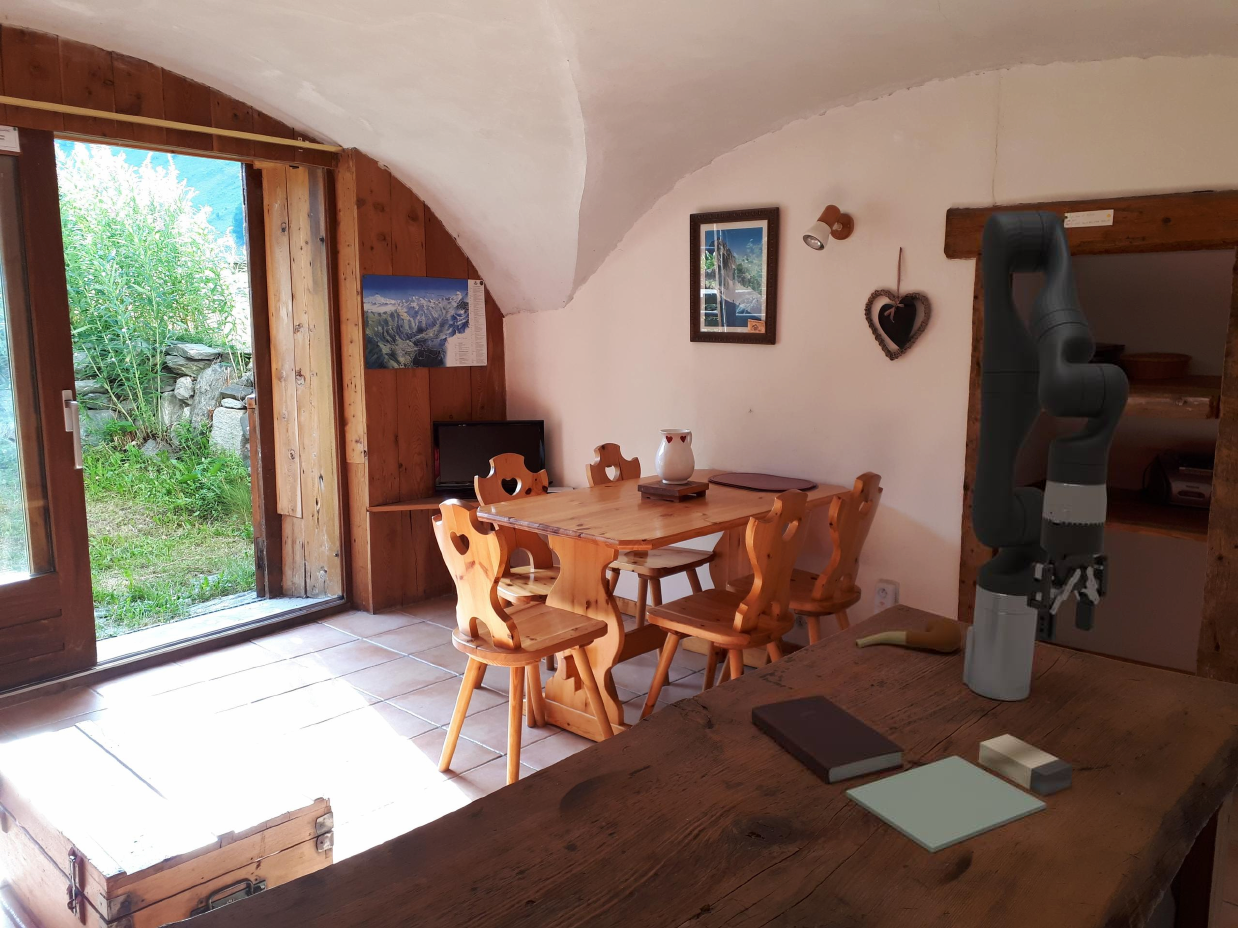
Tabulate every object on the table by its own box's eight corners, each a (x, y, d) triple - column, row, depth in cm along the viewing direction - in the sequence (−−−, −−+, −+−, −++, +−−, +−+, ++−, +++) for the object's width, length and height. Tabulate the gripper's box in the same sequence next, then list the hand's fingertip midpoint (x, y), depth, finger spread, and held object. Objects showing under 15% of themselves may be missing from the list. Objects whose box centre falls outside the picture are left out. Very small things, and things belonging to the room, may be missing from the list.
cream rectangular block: (978, 762, 128) (980, 742, 127) (1005, 753, 130) (1007, 733, 130) (1043, 797, 119) (1045, 775, 119) (1070, 786, 122) (1072, 765, 121)
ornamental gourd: (966, 657, 166) (969, 626, 165) (864, 658, 164) (867, 627, 163) (950, 642, 173) (952, 612, 172) (852, 643, 171) (854, 613, 170)
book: (826, 787, 121) (828, 764, 120) (749, 724, 139) (751, 703, 138) (904, 771, 126) (906, 748, 125) (821, 711, 143) (822, 691, 143)
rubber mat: (845, 795, 118) (845, 790, 118) (955, 759, 128) (955, 755, 128) (931, 852, 107) (932, 847, 106) (1045, 807, 116) (1046, 803, 116)
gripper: (1078, 506, 130) (1070, 619, 133) (1014, 515, 123) (1007, 635, 125) (1131, 515, 124) (1122, 633, 126) (1068, 525, 117) (1059, 651, 119)
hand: (1065, 634), depth 126 cm, fingers open, 8 cm apart
